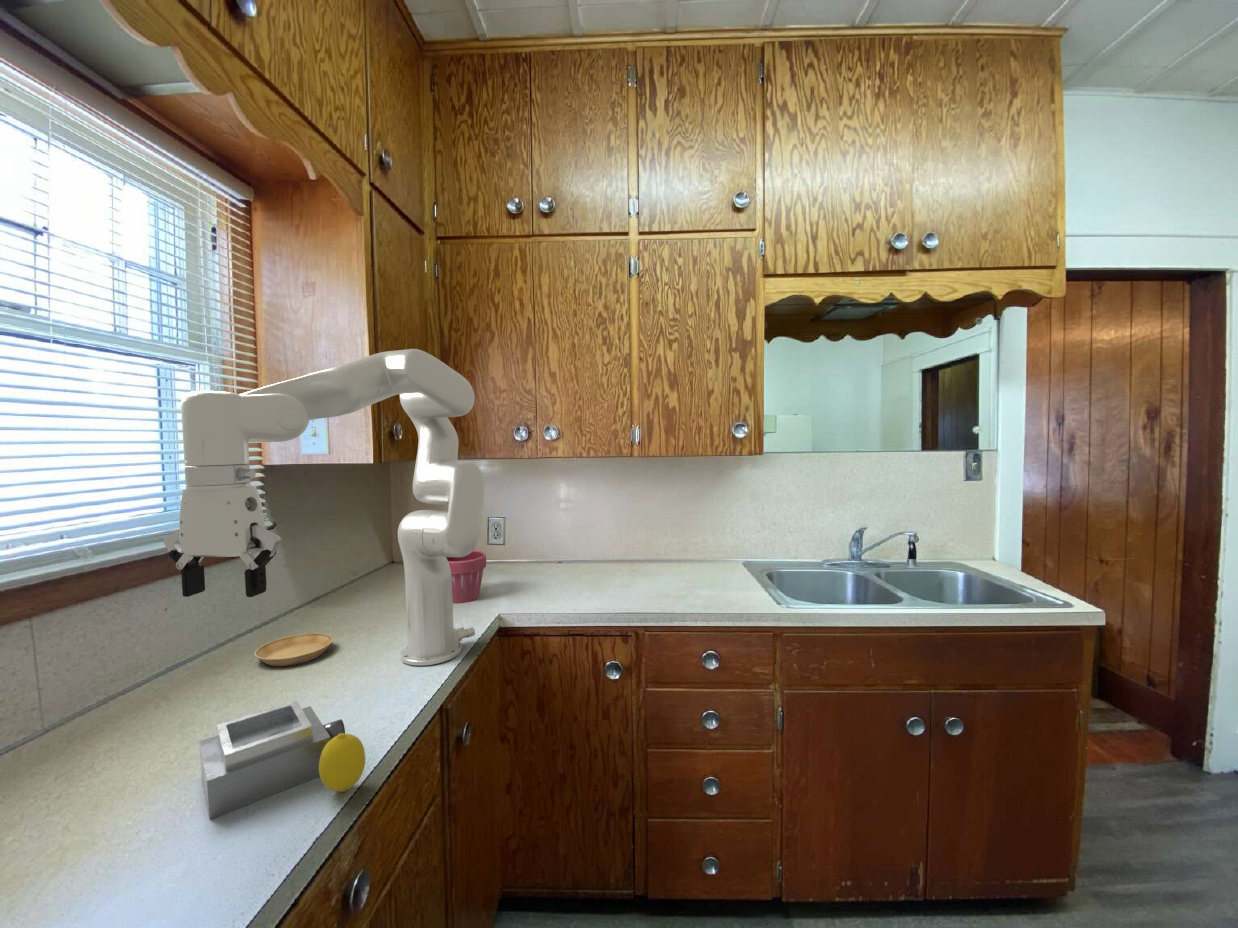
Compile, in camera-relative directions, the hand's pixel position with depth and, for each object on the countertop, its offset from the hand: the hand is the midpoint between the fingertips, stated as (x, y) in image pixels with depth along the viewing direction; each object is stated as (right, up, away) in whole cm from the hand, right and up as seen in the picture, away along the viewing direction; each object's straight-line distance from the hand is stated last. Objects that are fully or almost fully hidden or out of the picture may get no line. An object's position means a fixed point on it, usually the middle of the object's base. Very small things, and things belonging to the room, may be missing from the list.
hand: (225, 594), depth 78 cm
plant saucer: (-14, -24, +40) cm, 48 cm away
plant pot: (+12, -21, +79) cm, 82 cm away
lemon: (+21, -25, -6) cm, 33 cm away
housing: (+8, -25, -1) cm, 26 cm away
